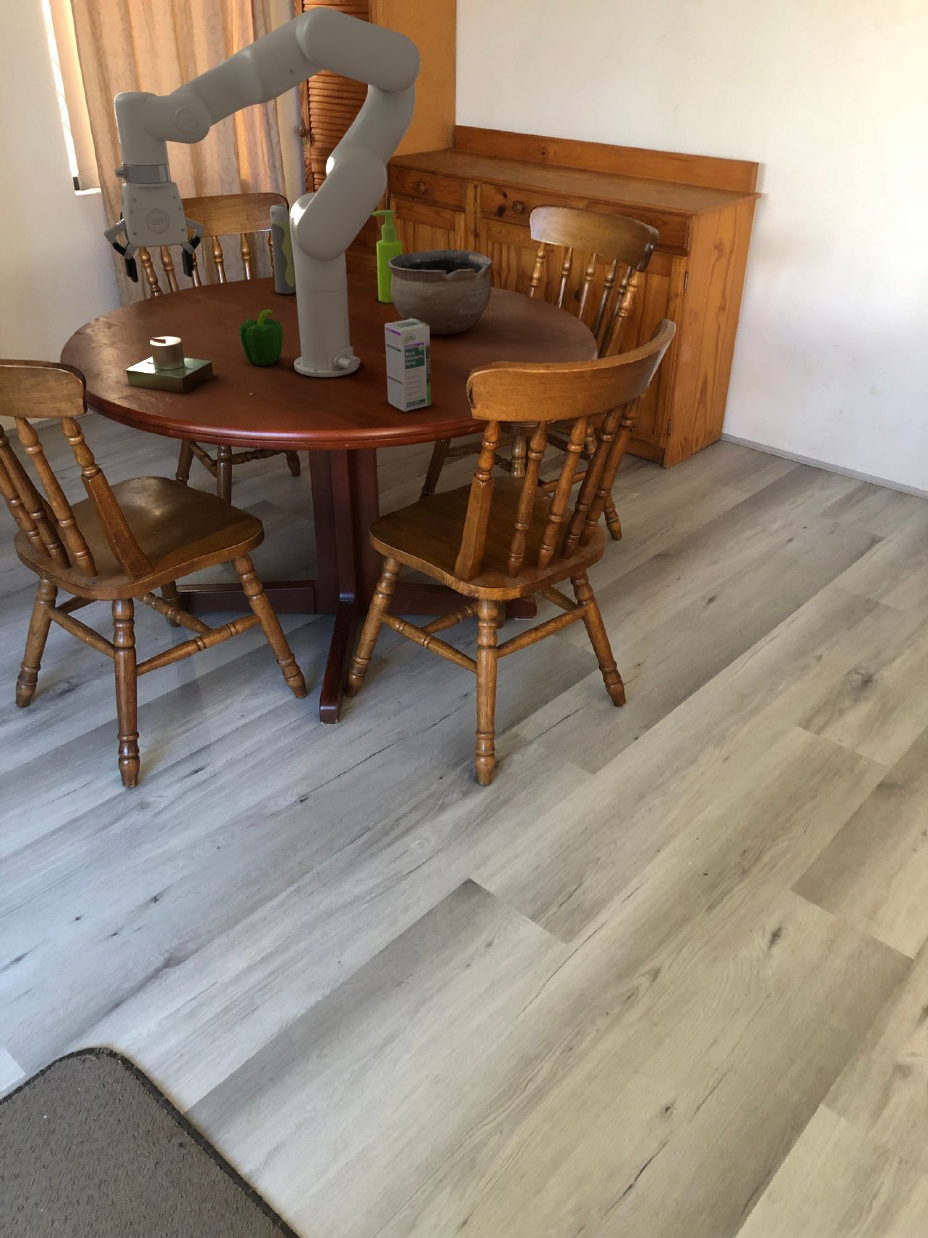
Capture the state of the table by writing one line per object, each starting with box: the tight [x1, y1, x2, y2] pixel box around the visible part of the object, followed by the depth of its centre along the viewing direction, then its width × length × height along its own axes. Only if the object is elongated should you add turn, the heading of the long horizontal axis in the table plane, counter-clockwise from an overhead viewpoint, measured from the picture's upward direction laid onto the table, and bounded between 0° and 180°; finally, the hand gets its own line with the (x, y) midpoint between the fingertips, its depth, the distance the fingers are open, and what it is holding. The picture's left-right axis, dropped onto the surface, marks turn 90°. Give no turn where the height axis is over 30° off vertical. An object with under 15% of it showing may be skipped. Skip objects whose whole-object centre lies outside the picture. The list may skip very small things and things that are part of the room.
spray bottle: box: [269, 203, 296, 295], centre depth 231 cm, size 5×5×20 cm
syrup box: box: [384, 318, 432, 412], centre depth 170 cm, size 6×6×14 cm
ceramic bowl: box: [388, 249, 494, 336], centre depth 208 cm, size 22×22×15 cm
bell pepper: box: [238, 309, 284, 366], centre depth 190 cm, size 8×8×10 cm
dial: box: [149, 336, 185, 370], centre depth 180 cm, size 6×6×5 cm
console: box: [125, 356, 214, 394], centre depth 182 cm, size 12×10×3 cm
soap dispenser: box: [371, 209, 403, 304], centre depth 227 cm, size 6×7×20 cm
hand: (161, 277), depth 174 cm, fingers open, 9 cm apart
